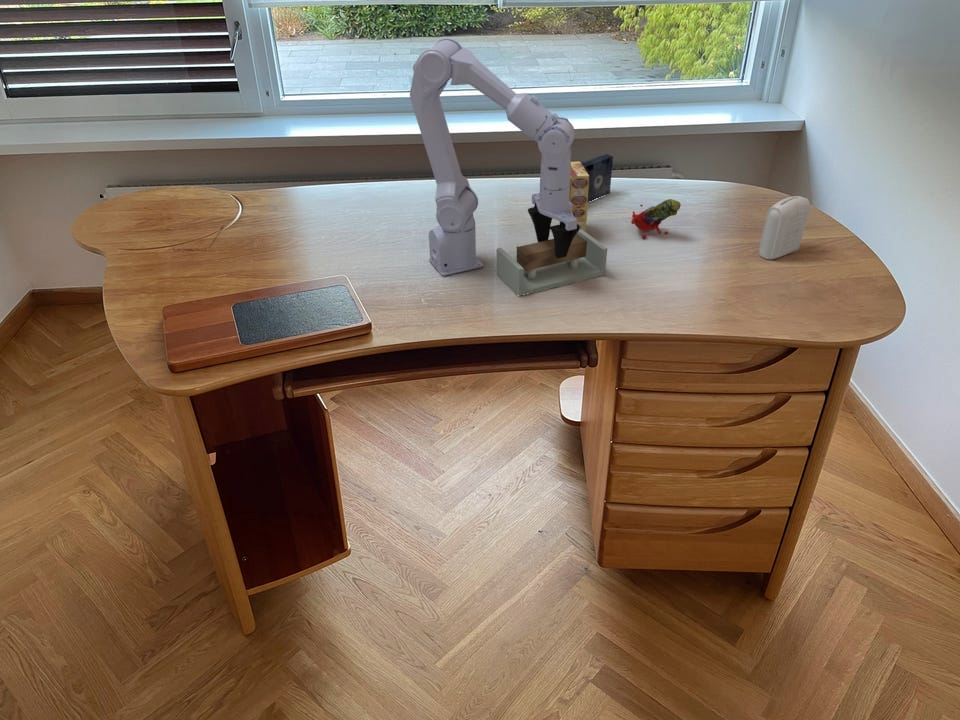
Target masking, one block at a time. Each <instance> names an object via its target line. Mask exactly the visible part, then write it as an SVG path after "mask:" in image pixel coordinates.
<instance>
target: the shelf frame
mask: <svg viewBox="0 0 960 720" xmlns="http://www.w3.org/2000/svg"><path fill="white" fill-rule="evenodd" d="M577 234H579V235H580V236H581V237H582V238H584V239H585V240H586V241H587V251H586V257H582V258H578V259H574V260H570V261H566V262H561V263H557V264H553V265H549V266H545V267H541V268H537V269H532V270H528V271H525V270H524V268H523V267H522V266H521V265H519V264H518V263H517V260H515V259H514V258H513V257H512V256H511V255H510V254H508V253H509V252H506V250H505V249H503V247H498V248H496V275H497V276H498V277H499V279H500V280H501V281H503V282H504V284H506V285H507V286H508V288H510V290H511V291H512V292H514V293H515V295H517V296H518V295H519V296H518V297H521V296H520V295H523V294H527V293H531V294H533V293H532V292H535V293H537V292H536V291H539V292H542V291H541V290H543V291H546V290H545V289H547V290H550V289H549V288H551V289H554V288H553V287H555V288H558V287H557V286H559V287H562V285H563V286H566V284H567V285H571V284H574V282H575V283H577V281H579V282H582V281H585V280H586V281H587V280H589V279H594V278H598V277H601V276H605V275H606V268H607V258H608V257H607V256H608V248H607V247H606V246H605V245H603V244H602V243H600V242H599V241H598V240H597V239H596V238H594V237H592V236H591V235H590V234H588V232H587V231H586V232H584V231H583V230H582V229H581V230H579V231H578V232H577ZM570 283H571V284H570ZM527 295H528V294H527ZM523 296H524V295H523Z"/></svg>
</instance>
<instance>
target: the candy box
mask: <svg viewBox="0 0 960 720" xmlns="http://www.w3.org/2000/svg"><path fill="white" fill-rule="evenodd" d="M581 163H582V162H581V161H571V173H570V190H569V202H571V203H572V204H573V208H570V209H571V211H572V213H573V216H574V217H575V218H576V219H577V224H578V225H580V230H581V229H582V230H583V231H584V232H586V233H587V219H588V217H587V216H588V205H589V203H588V189H589V175H588V173H587V172H586V170H585V168H584V167H583V166H582V164H581Z"/></svg>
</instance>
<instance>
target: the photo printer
mask: <svg viewBox="0 0 960 720" xmlns="http://www.w3.org/2000/svg"><path fill="white" fill-rule="evenodd" d="M810 209H811V204H810V201H809V199H808V198H806V197H803V196H800V195H795V196H794V195H793V196H790V197H786V198H784V199H781V200H779V201H778V202H776V203H775V204H774V205H772V206H771V207H770V208H769V209H768V211H767V214H766V218H765V222H764V226H763V230H762V235H761V239H760V243H759V247H758V254H759V256H760V257H761V258H763V259H766V260H774V259H778V258H781V257H782V256H783V257H784V256H786V255H789V254H791V253H794V252H796V251H798V250H799V249H800V246H801V244H802V240H803V235H804V231H805V228H806V224H807V221H808V215H809V213H810Z"/></svg>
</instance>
